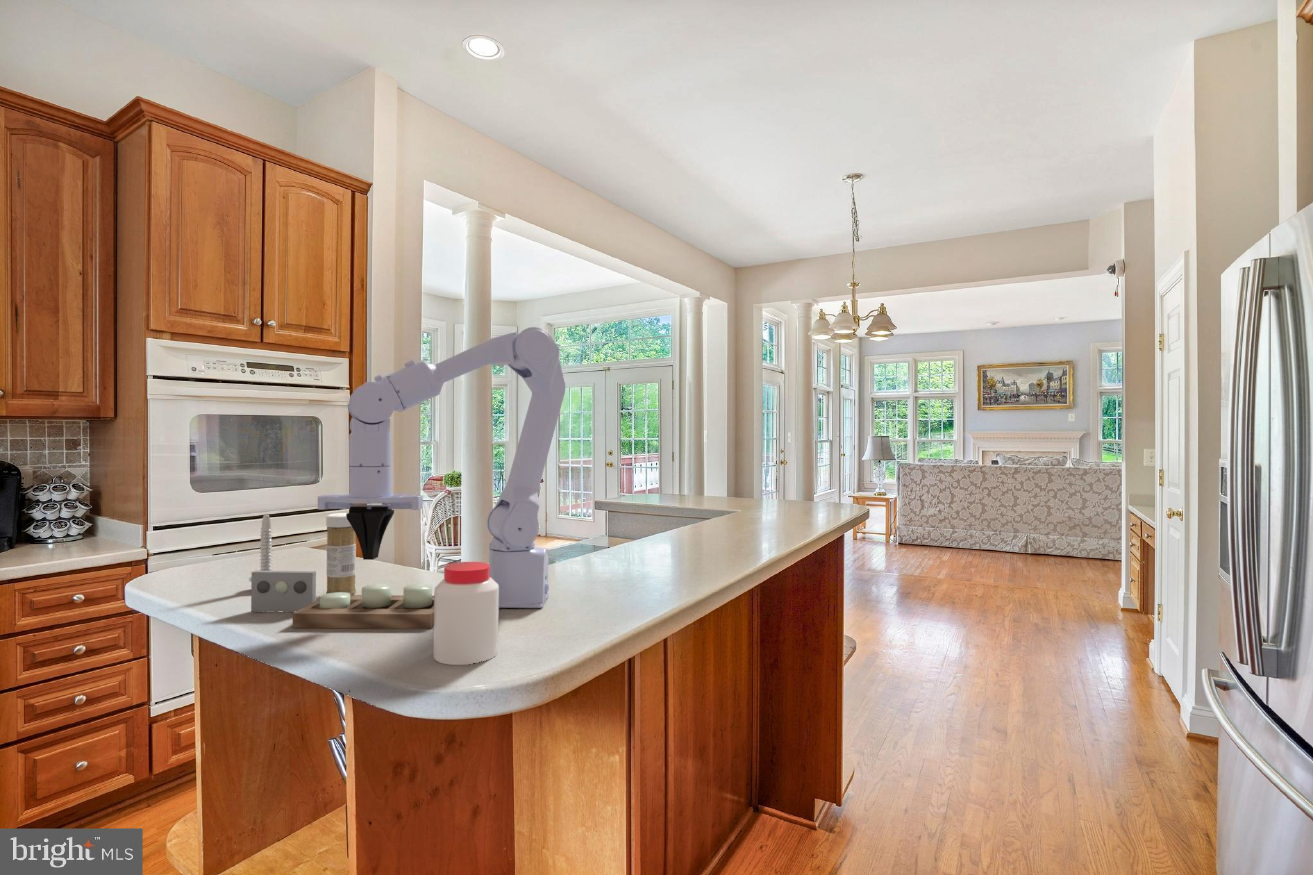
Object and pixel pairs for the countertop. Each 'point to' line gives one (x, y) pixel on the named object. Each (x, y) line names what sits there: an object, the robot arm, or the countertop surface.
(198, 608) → the countertop surface
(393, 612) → the wooden compartment tray
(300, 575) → the card
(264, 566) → the screw
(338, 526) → the sprinkles bottle
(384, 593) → the button mid
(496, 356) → the robot arm
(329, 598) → the button
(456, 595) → the pill bottle
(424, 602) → the button
